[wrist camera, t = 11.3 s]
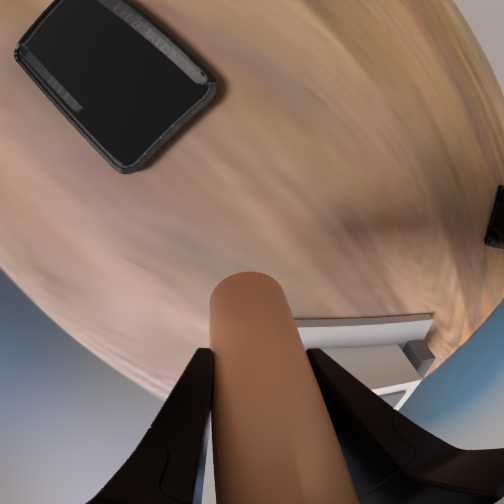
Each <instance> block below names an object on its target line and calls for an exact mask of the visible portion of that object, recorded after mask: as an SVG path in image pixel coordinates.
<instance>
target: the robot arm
mask: <svg viewBox="0 0 504 504" xmlns="http://www.w3.org/2000/svg"><path fill="white" fill-rule="evenodd" d="M485 244H486V245H488V246H492V247H497V248H502V249H504V186H502V185H500V186H499V188H498V193H497V197H496V202H495V206H494V210H493V214H492V217H491V221H490V225H489V228H488V231H487V235H486V238H485ZM306 353H307V356H308V358H309V361H310V364H311V367H312V369H313V372H314V375H315V377H316V380H317V383H318V386H319V388H320V391H321V394H322V397H323V399H324V402H325V405H326V408H327V410H328V413H329V416H330V419H331V422H332V424H333V427H334V430H335V433H336V436H337V438H338V441H339V444H340V447H341V450H342V453H343V456H344V458H345V461H346V464H347V467H348V470H349V473H350V476H351V479H352V482H353V484H354V487H355V490H356V493H357V496H358V499H359V502H360V504H504V448H500V449H485V450H463V449H459V448H456V447H454V446H452V445H450V444H448V443H446V442H444V441H443V440H441V439H439V438H437V437H436V436H434V435H433V434H430V433H429V432H428V431H426V430H424V429H423V428H421V427H420V426H418V425H416V424H415V423H413V422H412V421H411V420H409V419H408V418H407V417H405V416H404V415H402V414H401V413H400V412H399V411H397V410H396V409H394V408H393V407H392V406H391V405H389V404H388V403H387V402H386V401H384V400H383V399H382V398H381V397H379V396H378V395H377V394H376V393H374V392H373V391H372V390H370V389H369V388H368V387H367V386H365V385H364V384H363V383H362V382H361V381H359V380H358V379H357V378H356V377H354V376H353V375H352V374H351V373H349V372H348V371H347V370H346V369H344V368H343V367H342V366H341V365H340V364H338V363H337V362H336V361H335V360H333V359H332V358H331V357H330V356H329V355H327V354H326V353H325V352H324V351H323V350H321V349H320V348H308V349H307V350H306ZM212 381H213V371H212V350H211V349H210V348H198V349H197V350H196V352H195V353H194V355H193V357H192V358H191V360H190V362H189V363H188V365H187V367H186V368H185V370H184V372H183V373H182V375H181V376H180V378H179V380H178V381H177V383H176V385H175V386H174V388H173V390H172V391H171V393H170V395H169V396H168V398H167V400H166V401H165V403H164V404H163V406H162V408H161V409H160V411H159V413H158V414H157V416H156V418H155V419H154V421H153V422H152V424H151V428H149V429H148V430H147V432H146V434H145V435H144V437H143V438H142V440H141V441H140V443H139V445H138V446H137V447H136V449H135V450H134V452H133V453H132V454H131V455H130V457H129V458H128V459H127V461H126V462H125V463H124V464H123V465H122V466H121V468H120V469H119V470H118V471H117V472H116V473H115V475H114V476H113V477H112V478H111V479H110V480H109V481H108V482H107V484H106V485H105V486H104V487H103V488H102V489H101V490H100V491H99V492H98V494H97V495H95V496H94V497H93V498H92V499H91V500H90V501H88V502H87V503H85V504H201V503H202V493H203V482H204V473H205V464H206V455H207V445H208V437H209V428H210V420H211V398H212Z"/></svg>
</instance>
